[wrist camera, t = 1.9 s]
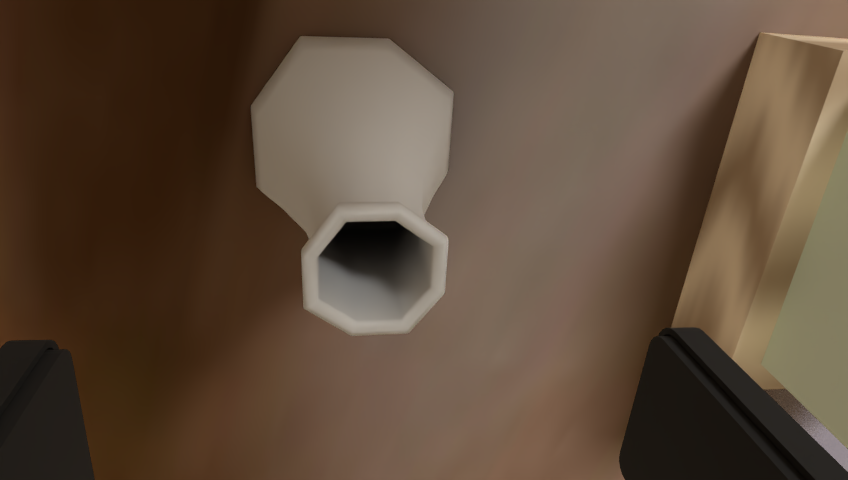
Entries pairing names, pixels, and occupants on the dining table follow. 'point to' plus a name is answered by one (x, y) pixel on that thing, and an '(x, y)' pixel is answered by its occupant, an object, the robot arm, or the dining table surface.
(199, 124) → the dining table surface
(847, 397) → the sage top block
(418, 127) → the flask
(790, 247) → the birch base block
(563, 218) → the dining table surface
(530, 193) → the dining table surface
